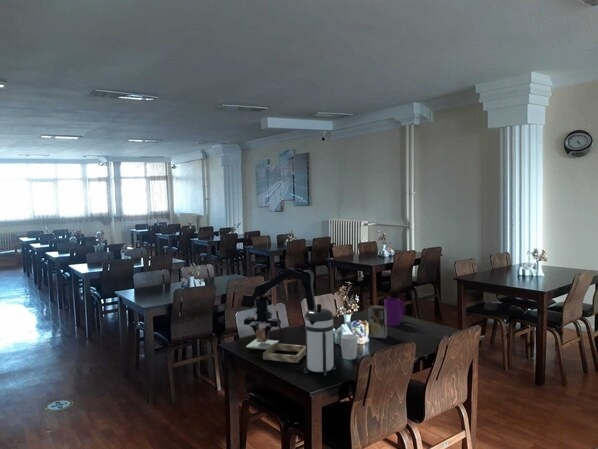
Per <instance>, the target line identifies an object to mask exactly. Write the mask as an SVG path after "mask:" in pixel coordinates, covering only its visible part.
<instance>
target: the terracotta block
mask: <svg viewBox="0 0 598 449" xmlns="http://www.w3.org/2000/svg"><path fill="white" fill-rule="evenodd" d="M256 332H257V336H256V339H257V342H266V341H267V340H269V337H268V338H267V339H266V327H259V329H258V330H256Z"/></svg>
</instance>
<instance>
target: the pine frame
mask: <svg viewBox="0 0 598 449" xmlns="http://www.w3.org/2000/svg"><path fill="white" fill-rule="evenodd" d="M276 351H284V352H295V353H297V354H296V355H294V354H284V353H275V352H276ZM304 356H306V345H299V344H289V343H279V342H278V343H274V344H273V345H272V346H271V347H269V348H268V349H267V350H266V349H265V351H263V352H262V359H263V360H265V361H276V362H277V361H278V362H284V363H285V362H287V363H295V364H298V363H300V361H301V360H302V359H303V357H304Z"/></svg>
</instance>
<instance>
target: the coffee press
mask: <svg viewBox="0 0 598 449" xmlns="http://www.w3.org/2000/svg"><path fill="white" fill-rule="evenodd" d="M334 318H335V315H334V314H333V312H332V311H331V310H330V309H328V308H324V307H323V306H322V304H320V303H318V304H316V308H315V309H311V310H309V311H308V310H307V311H306V312H305V315H304V319H305V324H304V328H305V331H304V333H305V336H304V337H305V346H306V354H305V367H304V368H303V373H304V374H308V372H310V371H311V372H315V373H321V374H322V375H323V376H322V377H325V378H326V377H328V373H327V372H329V371H331V370H336V369H337V366H336V365H335V363H334V360H335V359H334V355H335V354H334V328H335V327H334V326H335V325H334Z"/></svg>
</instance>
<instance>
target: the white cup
mask: <svg viewBox="0 0 598 449" xmlns="http://www.w3.org/2000/svg"><path fill="white" fill-rule="evenodd" d="M358 338H359V337H358V335H356V334H351V333H349V334H348V333H347V334H342V335H341V336H340V343H341V344H340V345H341V346H340V347H341V355H342V356H341V357H342V358H343V359H344V360H348V361H350V360H351V361H352V360H355V359H357V353H358Z"/></svg>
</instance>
